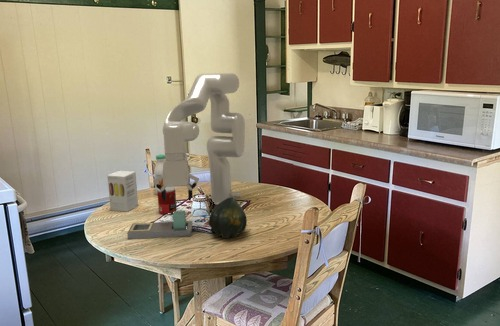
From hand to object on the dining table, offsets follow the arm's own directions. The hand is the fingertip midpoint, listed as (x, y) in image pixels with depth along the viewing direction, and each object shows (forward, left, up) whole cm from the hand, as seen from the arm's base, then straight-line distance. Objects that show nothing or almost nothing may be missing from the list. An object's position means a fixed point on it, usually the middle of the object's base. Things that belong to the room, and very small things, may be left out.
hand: (177, 199), depth 168 cm
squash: (-19, +3, -14) cm, 24 cm away
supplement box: (+29, -33, -14) cm, 46 cm away
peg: (0, -1, -14) cm, 14 cm away
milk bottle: (+14, -54, -14) cm, 57 cm away
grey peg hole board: (+7, -1, -14) cm, 15 cm away
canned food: (+8, -25, -14) cm, 29 cm away
